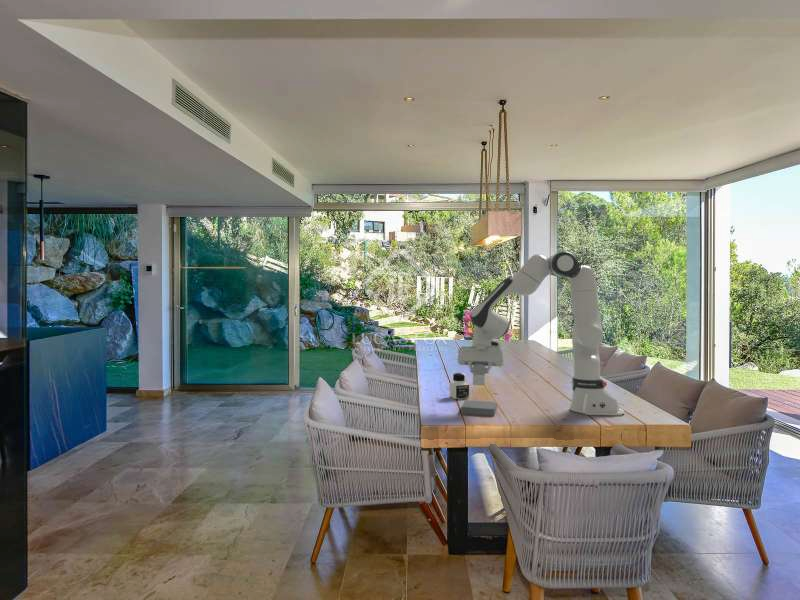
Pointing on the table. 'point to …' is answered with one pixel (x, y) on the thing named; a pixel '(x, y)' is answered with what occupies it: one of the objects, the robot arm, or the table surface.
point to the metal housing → (479, 374)
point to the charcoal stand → (479, 408)
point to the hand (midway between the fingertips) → (479, 372)
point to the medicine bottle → (459, 387)
